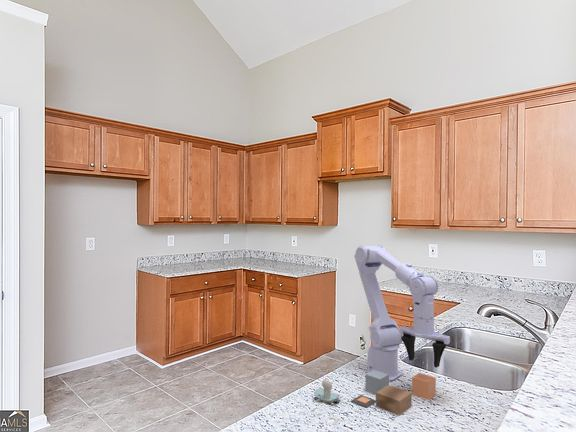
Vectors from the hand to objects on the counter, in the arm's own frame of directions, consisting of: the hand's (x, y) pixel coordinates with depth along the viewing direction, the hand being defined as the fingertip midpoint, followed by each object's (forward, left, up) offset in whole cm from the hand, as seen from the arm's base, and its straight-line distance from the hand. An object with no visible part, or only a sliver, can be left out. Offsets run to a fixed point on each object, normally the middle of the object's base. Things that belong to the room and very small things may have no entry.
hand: (423, 363), depth 107 cm
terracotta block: (0, 0, -9) cm, 9 cm away
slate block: (-11, -8, -9) cm, 16 cm away
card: (-10, -17, -9) cm, 22 cm away
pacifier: (-18, -23, -10) cm, 31 cm away
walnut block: (-3, -13, -9) cm, 16 cm away
